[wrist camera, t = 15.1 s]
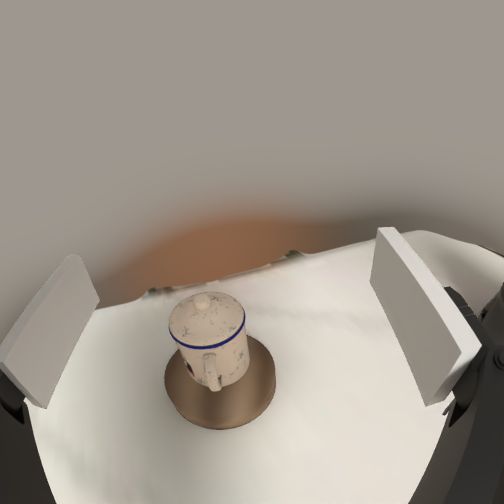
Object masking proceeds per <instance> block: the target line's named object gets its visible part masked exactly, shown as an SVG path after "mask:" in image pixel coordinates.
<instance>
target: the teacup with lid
mask: <svg viewBox="0 0 504 504" xmlns="http://www.w3.org/2000/svg"><path fill="white" fill-rule="evenodd" d="M244 323H245V312H244V309H243V307H242V306H241V304H240V303H239V302H238V301H237V300H236V299H235V298H233V297H232V296H230V295H227V294H224V293H219V292H205V293H200V294H196V295H193V296H191V297H188V298H187V299H185V300H183V301H182V302H181V303H179V304H178V305H177V306H176V307H175V309H174V310H173V312H172V313H171V316H170V319H169V331H170V334H171V336H172V337H173V339H174V340H175V341H176V343H177V346H178V348H179V351H180V353H181V356H182V358H183V360H184V363H185V365H186V368H187V370H188V372H189V374H190V376H191V377H192V378H193V379H194V380H195V381H196V382H198V383H199V384H201V385H204V386H207V387H209V388H210V390H211V391H220V390H221V388H222V387H224V386H227V385H230V384H233V383H234V382H236V381H238V380H239V379H240V378H241V377H242V376H243V375H244V374H245V373H246V371H247V369H248V367H249V363H250V356H249V350H248V344H247V337H246V331H245V324H244Z"/></svg>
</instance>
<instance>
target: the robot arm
mask: <svg viewBox="0 0 504 504" xmlns="http://www.w3.org/2000/svg"><path fill="white" fill-rule="evenodd" d="M370 283H371V285H372V287H373V289H374V291H375V293H376V295H377V297H378V299H379V301H380V303H381V305H382V307H383V309H384V311H385V313H386V315H387V317H388V320H389V322H390V324H391V326H392V328H393V330H394V332H395V334H396V337H397V339H398V341H399V343H400V345H401V348H402V350H403V352H404V355H405V357H406V359H407V361H408V364H409V366H410V369H411V371H412V373H413V376H414V378H415V381H416V383H417V386H418V388H419V391H420V393H421V396H422V399H423V401H424V404H425V407H426V406H429V405H432V404H435V403H438V402H440V401H443V400H445V399H446V397H447V396H448V395H449V393H450V392H451V391H453V394H454V396H455V398H454V399H453V401H452V402H451V403H450V404H449V406H448V407H447V408H446V409H445V411H444V412H443V414H442V415H444V416H445V415H446V414H447V412H448V411H449V413H448V416H447V419H446V422H445V425H444V427H443V430H442V433H441V435H440V438H439V441H438V443H437V446H436V448H435V450H434V453H433V455H432V457H431V460H430V462H429V464H428V466H427V468H426V471H425V473H424V475H423V477H422V479H421V481H420V483H419V485H418V487H417V489H416V490H415V492H414V494H413V496H412V498H411V500H410V501H409V503H408V504H504V282H503V285H502V287H501V289H500V291H499V292H498V293H497V294H496V295H495V296H494V298H493V299H492V300H491V301H490V302H489V303H488V304H487V305H486V306H485V307H484V308H483V310H482V311H481V313H480V315H479V317H478V318H477V317H476V315H474V314H473V311H472V310H471V308H470V307H468V304H467V303H466V301H465V300H464V299H463V297H462V296H461V295H460V294H459V293H458V292H456V291H455V290H454V289H452V288H451V287H444V288H443V287H442V286H441V284H440V283H439V282H438V280H437V279H436V278H435V276H434V275H433V274H432V272H431V271H430V270H429V269H428V267H427V266H426V265H425V264H424V262H423V261H422V260H421V259H420V257H419V256H418V255H417V254H416V252H415V251H414V250H413V249H412V248H411V246H410V245H409V244H408V243H407V242H406V240H405V239H404V238H403V237H402V236H401V235H400V234H399V232H398V231H397V230H396V229H395V228H394V227H385V228H378V229H377V237H376V245H375V252H374V259H373V265H372V271H371V277H370ZM99 301H100V300H99V297H98V295H97V293H96V291H95V289H94V287H93V284H92V282H91V280H90V278H89V275H88V273H87V271H86V268H85V266H84V263H83V261H82V259H81V256H80V254H73V255H68V256H67V257H66V258H65V259H64V260H63V261H62V263H61V264H60V265H59V266H58V267H57V269H56V270H55V271H54V272H53V273H52V275H51V276H50V277H49V278H48V280H47V281H46V282H45V283H44V285H43V286H42V287H41V288H40V290H39V291H38V292H37V294H36V295H35V296H34V298H33V299H32V300H31V302H30V303H29V304H28V306H27V307H26V308H25V310H24V311H23V313H22V314H21V316H20V317H19V318H18V320H17V321H16V323H15V324H14V326H13V327H12V329H11V330H10V332H9V333H8V335H7V336H6V338H5V339H4V341H3V342H2V344H1V346H0V504H56V502H55V499H54V497H53V494H52V492H51V489H50V486H49V484H48V481H47V478H46V475H45V472H44V469H43V466H42V463H41V460H40V456H39V453H38V449H37V446H36V442H35V438H34V434H33V430H32V425H31V421H30V416H29V411H28V407H27V404H26V403H25V402H24V398H25V397H26V398H27V399H28V400H29V401H30V402H31V403H32V404H33V405H35V406H38V407H41V408H44V409H47V406H48V404H49V402H50V399H51V397H52V395H53V392H54V390H55V388H56V385H57V383H58V381H59V379H60V376H61V374H62V372H63V370H64V368H65V366H66V364H67V362H68V359H69V357H70V355H71V353H72V351H73V349H74V347H75V345H76V343H77V341H78V339H79V337H80V336H81V334H82V332H83V330H84V328H85V326H86V324H87V322H88V321H89V319H90V317H91V315H92V313H93V311H94V310H95V307H96V306H97V304H98V302H99Z"/></svg>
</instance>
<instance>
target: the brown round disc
mask: <svg viewBox="0 0 504 504" xmlns="http://www.w3.org/2000/svg"><path fill="white" fill-rule="evenodd" d="M246 337H247V344H248V350H249V356H250V363H249V367H248V369H247V371H246V373H245V374H244V375H243V376H242V377H241V378H240V379H239V380H238V381H236V382H234V383H233V384H230V385H227V386H224V387H222V388H221V390H220V391H211V390H210V388H209V387H207V386H204V385H201V384H199V383H198V382H196V381H195V380H194V379H193V378H192V377H191V376H190V374H189V372H188V370H187V368H186V365H185V363H184V360H183V358H182V356H181V353H180V351H179V349H178V350H177V351H176V352H175V354H174V355H173V356H172V358H171V359H170V361H169V363H168V365H167V368H166V371H165V388H166V391H167V394H168V396H169V397H170V399H171V401H172V402H173V404H174V405H175V407H176V409H177V410H178V411H179V413H180V414H181V415H182V416H183V417H184V418H186V419H187V420H188V421H190V422H191V423H193V424H195V425H198V426H201V427H204V428H208V429H216V430H223V429H231V428H236V427H239V426H242V425H244V424H247V423H249V422H251V421H252V420H254V419H255V418H257V417H258V416H259V415H261V414H262V413H263V412H264V410H265V409H266V408H267V407H268V405H269V404H270V402H271V400H272V398H273V396H274V393H275V388H276V376H275V365H274V361H273V358H272V356H271V354H270V352H269V351H268V350H267V348H266V347H265V346H264V345H263V344H262V343H260V342H259V341H258V340H256V339H254V338H252V337H250V336H248V335H246Z"/></svg>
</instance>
